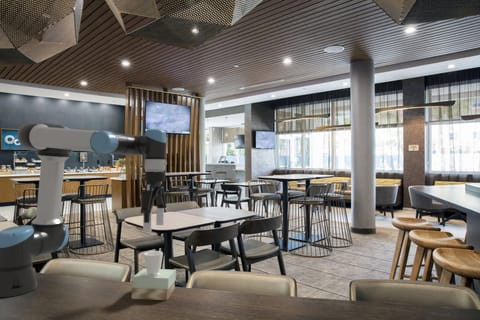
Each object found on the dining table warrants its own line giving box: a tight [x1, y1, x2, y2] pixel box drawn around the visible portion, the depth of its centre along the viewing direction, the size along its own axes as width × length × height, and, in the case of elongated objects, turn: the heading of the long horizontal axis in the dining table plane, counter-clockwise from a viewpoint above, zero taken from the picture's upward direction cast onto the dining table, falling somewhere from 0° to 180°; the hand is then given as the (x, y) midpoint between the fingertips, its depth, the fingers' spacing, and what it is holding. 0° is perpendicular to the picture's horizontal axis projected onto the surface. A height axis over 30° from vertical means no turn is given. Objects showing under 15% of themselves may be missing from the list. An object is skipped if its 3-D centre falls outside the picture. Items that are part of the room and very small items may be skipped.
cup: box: [143, 250, 164, 277], centre depth 122 cm, size 7×10×8 cm
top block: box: [132, 267, 177, 290], centre depth 123 cm, size 13×10×4 cm
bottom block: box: [130, 281, 176, 301], centre depth 122 cm, size 13×10×4 cm
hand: (153, 228), depth 121 cm, fingers open, 13 cm apart
